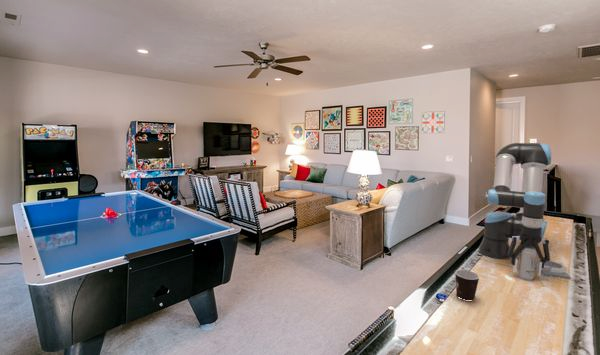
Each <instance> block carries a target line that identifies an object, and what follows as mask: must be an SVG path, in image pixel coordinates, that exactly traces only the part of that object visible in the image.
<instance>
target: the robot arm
mask: <svg viewBox="0 0 600 355" xmlns="http://www.w3.org/2000/svg"><path fill="white" fill-rule="evenodd" d="M494 162H495V164H496V166H495V174H494V181H493V188H491V189H488V190H487V197H486V198H487V199H486V200H487V201H486V202H487V203H488V204H489V205H493V206H494V205H495V206H504V207H515V208H519V211H518V212H516V214H515V216H512V213H510V212H506V211H490V212H488V213H486V215H485V218H484V229H483V230H484V232H483V238H482V240H481V242H480V244H479V247H478V252H479V253H480V254H482V255H483V256H486V257H489V258H493V259H501V260H505V259H506V260H507V259H510V258H511V259H510V264H511V265H512V271H513V273H515V274H516V273H517V272H518V271H517V268H518V260H519V259H518V256H520V252H521V251H522V249H523V248H525V246H532V247H535V248H536V251H537V256H538V258H539V259H537V260H536V262H537V268H536V269H535V273H536V275H537V276H539V277H541V274H542V273H541V268H544V263H545V262H546V261H551V256H550V250H549V244H550V240H549V239H547V237H546V238H544V236H545V233H546V230H547V224H548V221H547V220H546V219H544V212H545V204H546V193H544V192H542V190H543V178H544V171H545V170H546V169H547V168H548V166H550V165H551V163H552V151H551V146H550V145H549V144H548V143H539V142H537V143H535V142H532V143H531V142H530V143H529V142H514V143H509V144H507V145H505V146H503V147H502V148H501V149H499V151H498V152H497V154H495V160H494ZM515 164H517V165H520V168H521V170H523V171H522V172H523V173H522V184H521V191H515V190H512V179H513V168H514V165H515ZM510 239H511V242H510V243H509V240H510ZM519 240H520V242H519ZM517 242H519V244H518V246H517V247H516V245H517ZM540 243H541V244H542V247H543V248H542V249H543V253H542V251H541V249H540V245H539V244H540ZM543 254H544V255H543Z"/></svg>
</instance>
